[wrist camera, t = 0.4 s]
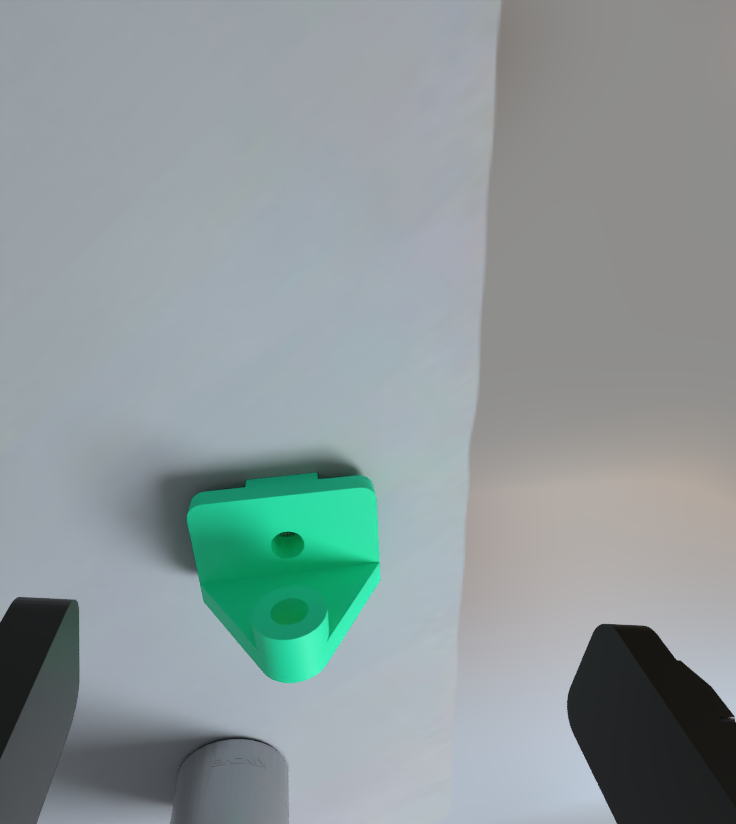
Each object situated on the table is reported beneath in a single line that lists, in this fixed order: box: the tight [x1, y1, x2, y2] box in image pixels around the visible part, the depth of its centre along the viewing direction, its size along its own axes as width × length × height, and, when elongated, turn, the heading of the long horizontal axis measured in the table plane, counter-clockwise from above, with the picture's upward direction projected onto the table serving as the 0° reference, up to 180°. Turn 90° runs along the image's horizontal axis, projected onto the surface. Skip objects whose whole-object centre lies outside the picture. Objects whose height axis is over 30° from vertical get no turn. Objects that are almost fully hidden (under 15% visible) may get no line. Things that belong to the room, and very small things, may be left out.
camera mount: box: [187, 472, 380, 683], centre depth 38 cm, size 12×8×10 cm, turn 93°
